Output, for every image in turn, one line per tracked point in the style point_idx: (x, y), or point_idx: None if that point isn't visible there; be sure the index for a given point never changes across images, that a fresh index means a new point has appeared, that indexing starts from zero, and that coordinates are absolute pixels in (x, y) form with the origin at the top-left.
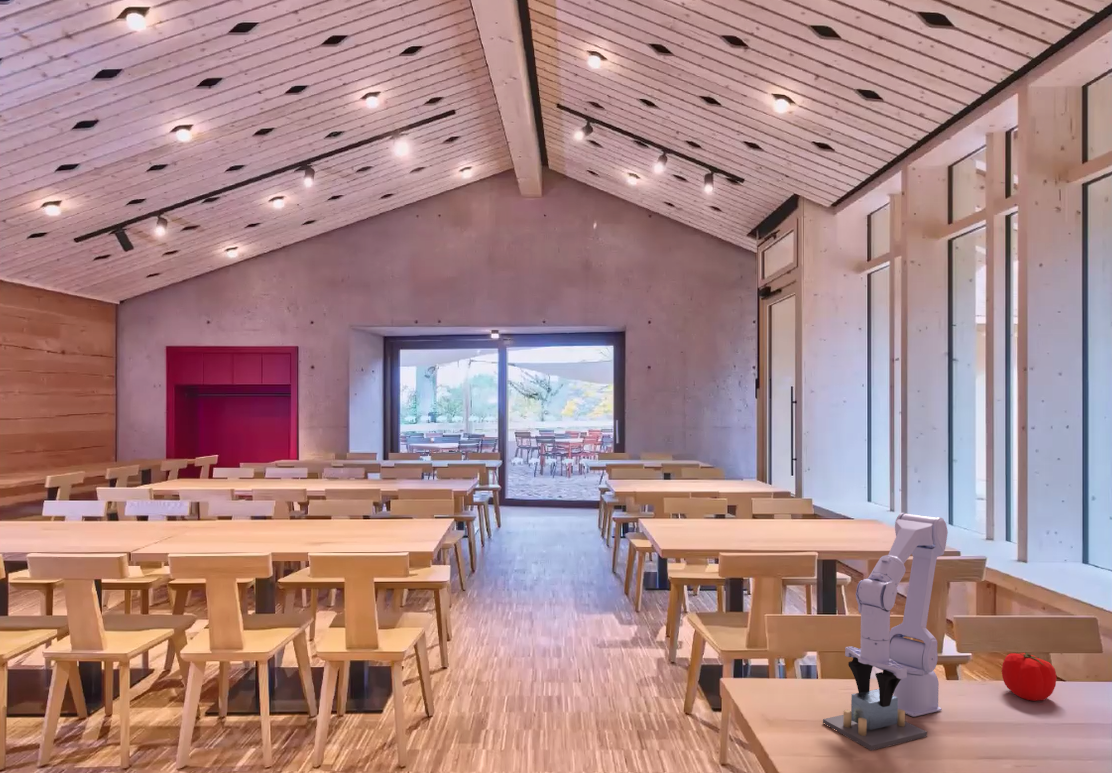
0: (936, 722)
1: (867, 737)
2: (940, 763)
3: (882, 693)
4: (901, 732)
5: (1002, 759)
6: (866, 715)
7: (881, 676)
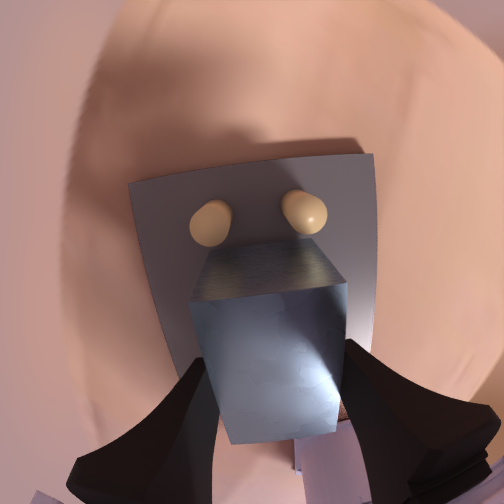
0: (256, 448)
1: (185, 213)
2: (62, 320)
3: (167, 402)
4: (198, 352)
5: (93, 425)
6: (224, 266)
7: (78, 482)
